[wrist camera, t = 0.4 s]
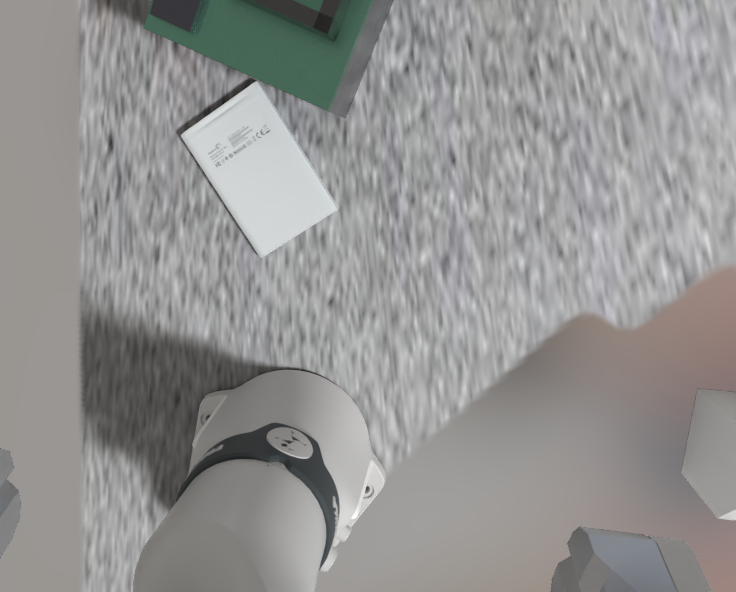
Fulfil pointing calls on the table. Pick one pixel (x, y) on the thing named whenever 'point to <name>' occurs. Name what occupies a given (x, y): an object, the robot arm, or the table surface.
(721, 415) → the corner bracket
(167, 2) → the green-topped socket block
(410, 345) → the table surface
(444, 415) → the table surface
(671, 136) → the table surface
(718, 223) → the table surface
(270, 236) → the external hard drive
